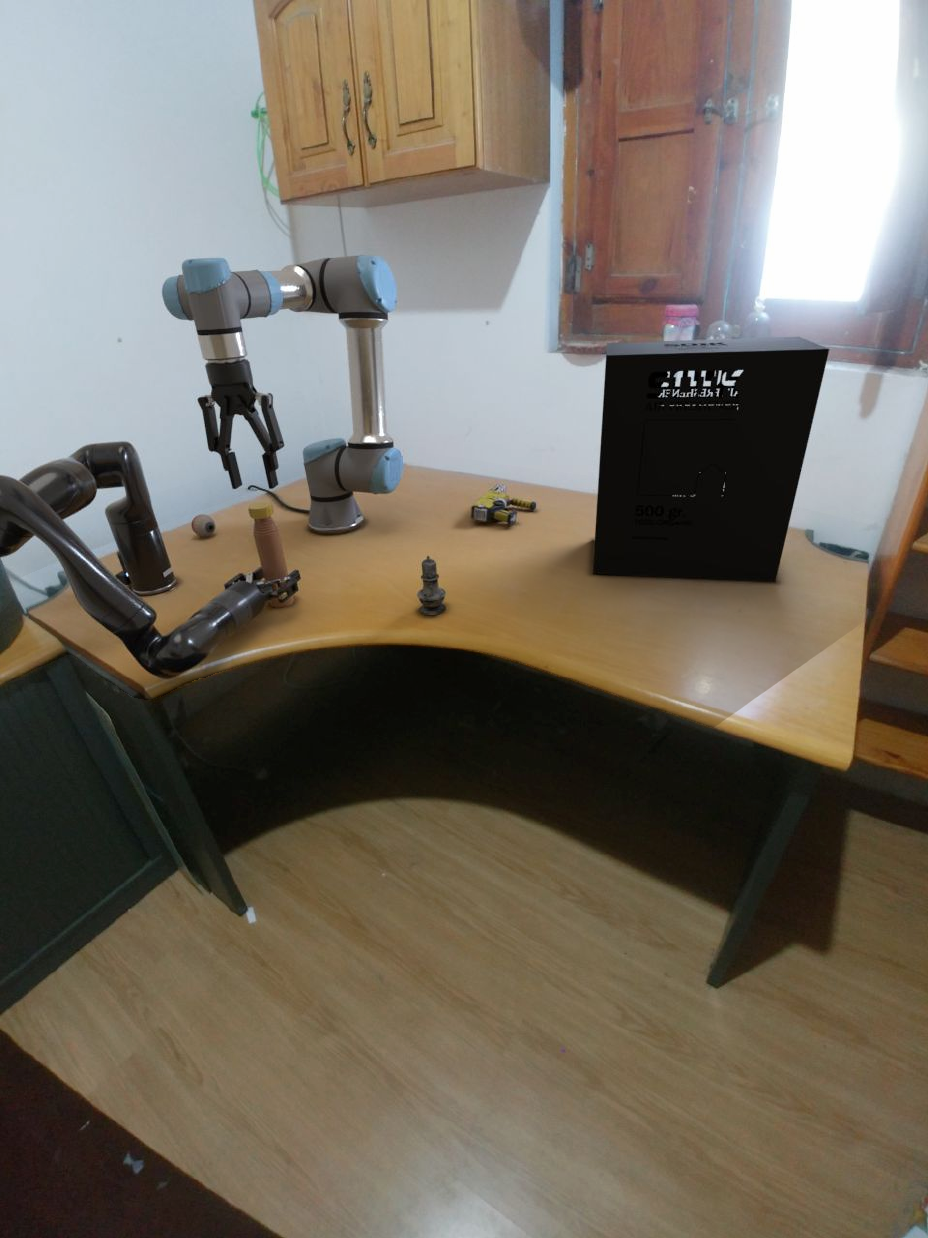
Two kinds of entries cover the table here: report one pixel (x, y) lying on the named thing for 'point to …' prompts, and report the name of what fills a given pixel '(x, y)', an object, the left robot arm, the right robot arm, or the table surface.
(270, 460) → the right robot arm
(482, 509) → the toy gun
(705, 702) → the table surface
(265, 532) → the bottle
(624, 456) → the cardboard box
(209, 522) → the eyeball
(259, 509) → the cap
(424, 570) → the dark grey tiered piece
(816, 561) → the table surface
